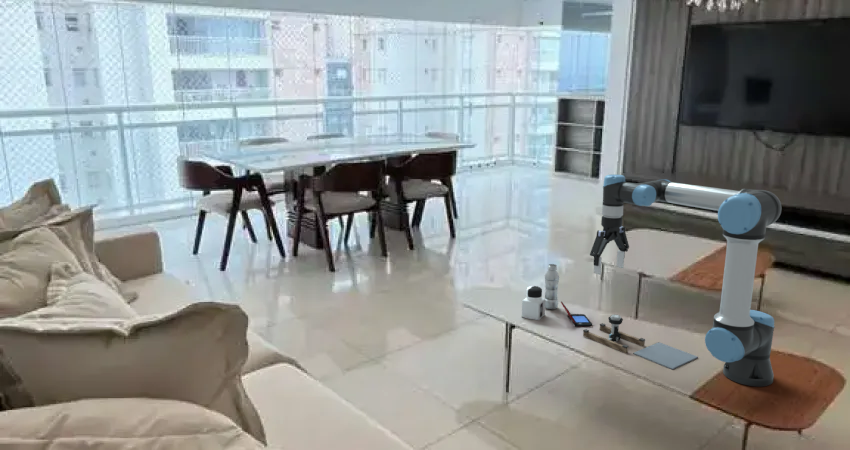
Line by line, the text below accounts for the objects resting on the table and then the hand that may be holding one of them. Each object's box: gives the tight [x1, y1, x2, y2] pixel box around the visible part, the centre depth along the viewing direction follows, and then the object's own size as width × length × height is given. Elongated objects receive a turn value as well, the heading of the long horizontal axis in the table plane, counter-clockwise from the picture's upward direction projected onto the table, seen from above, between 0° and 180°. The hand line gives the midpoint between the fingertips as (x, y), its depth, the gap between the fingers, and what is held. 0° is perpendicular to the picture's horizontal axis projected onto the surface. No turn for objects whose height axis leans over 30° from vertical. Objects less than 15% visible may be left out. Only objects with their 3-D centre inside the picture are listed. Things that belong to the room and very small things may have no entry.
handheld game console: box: [560, 301, 593, 328], centre depth 256 cm, size 12×11×7 cm
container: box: [521, 285, 546, 321], centre depth 261 cm, size 8×8×13 cm
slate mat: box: [632, 341, 699, 370], centre depth 223 cm, size 16×16×1 cm
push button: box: [607, 314, 624, 342], centre depth 236 cm, size 7×5×10 cm
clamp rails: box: [582, 322, 646, 354], centre depth 237 cm, size 20×12×3 cm, turn 36°
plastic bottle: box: [544, 263, 560, 310], centre depth 269 cm, size 6×7×20 cm
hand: (608, 270), depth 232 cm, fingers open, 13 cm apart
